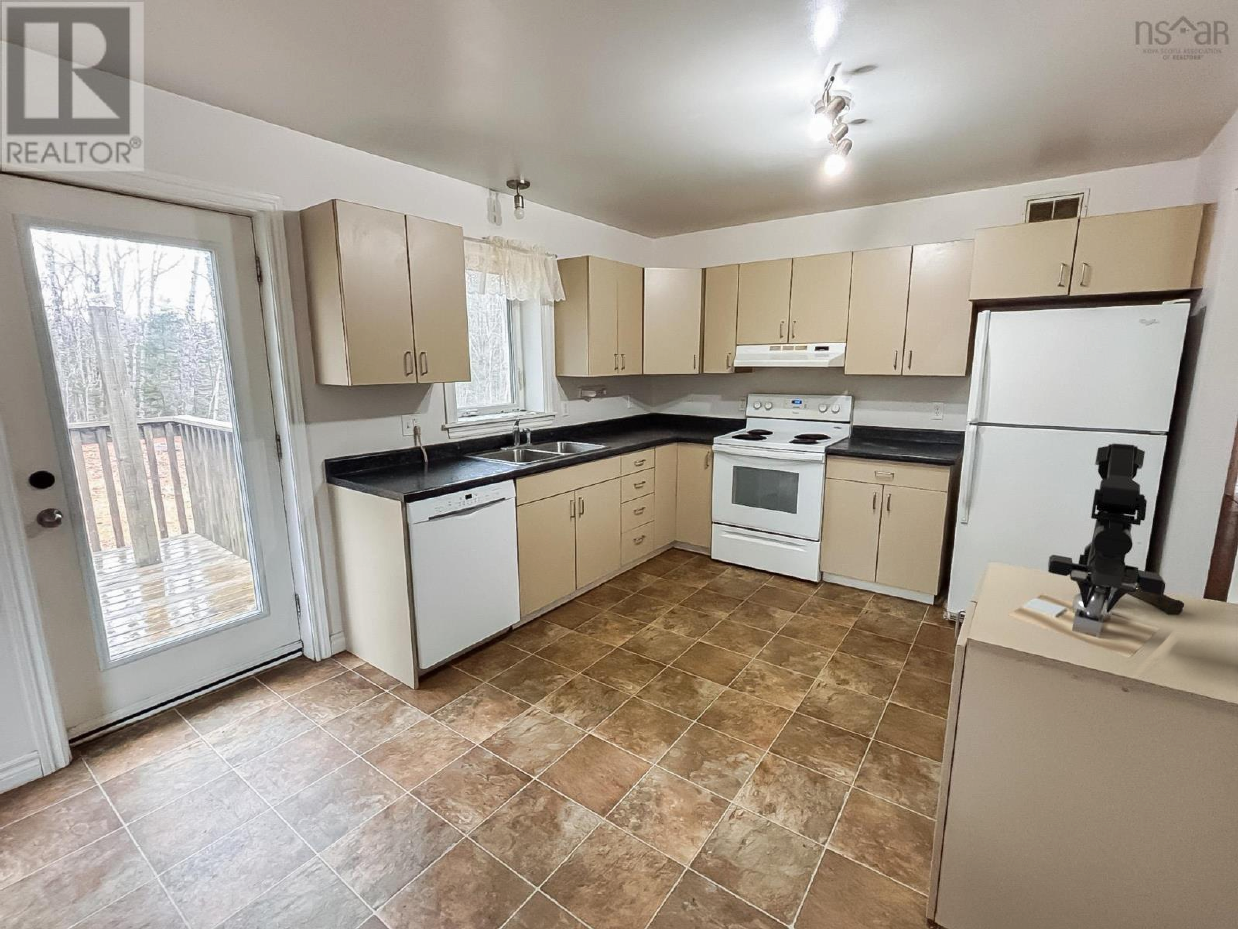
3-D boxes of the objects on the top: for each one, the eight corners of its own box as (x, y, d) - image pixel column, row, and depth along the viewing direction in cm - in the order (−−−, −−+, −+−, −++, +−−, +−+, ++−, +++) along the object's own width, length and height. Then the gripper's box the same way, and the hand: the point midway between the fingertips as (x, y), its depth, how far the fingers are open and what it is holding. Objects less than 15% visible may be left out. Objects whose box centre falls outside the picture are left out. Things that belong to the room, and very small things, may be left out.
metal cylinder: (1080, 625, 121) (1093, 585, 118) (1079, 620, 123) (1092, 580, 120) (1096, 630, 119) (1110, 589, 116) (1095, 624, 121) (1109, 584, 119)
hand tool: (1183, 616, 130) (1187, 598, 129) (1167, 616, 130) (1171, 598, 129) (1113, 583, 149) (1116, 567, 148) (1099, 583, 149) (1102, 567, 148)
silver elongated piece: (1073, 604, 133) (1077, 580, 132) (1111, 613, 128) (1116, 588, 127) (1065, 628, 122) (1069, 602, 121) (1106, 639, 117) (1111, 612, 116)
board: (1041, 599, 140) (1042, 593, 140) (1157, 635, 122) (1159, 628, 122) (1007, 621, 129) (1007, 615, 129) (1128, 664, 111) (1129, 657, 111)
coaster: (1034, 600, 136) (1034, 597, 136) (1065, 609, 131) (1066, 607, 131) (1023, 607, 133) (1023, 604, 133) (1055, 617, 128) (1055, 615, 127)
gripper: (1055, 544, 115) (1043, 611, 119) (1178, 565, 104) (1160, 638, 108) (1054, 530, 124) (1042, 593, 128) (1167, 548, 113) (1151, 616, 117)
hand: (1095, 609), depth 120 cm, fingers open, 3 cm apart
